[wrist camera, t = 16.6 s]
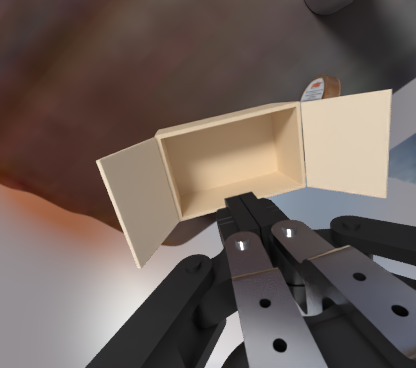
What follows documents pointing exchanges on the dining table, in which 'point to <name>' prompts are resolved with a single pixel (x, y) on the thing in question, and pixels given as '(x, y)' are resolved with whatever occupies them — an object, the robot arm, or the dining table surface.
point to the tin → (320, 92)
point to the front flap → (140, 197)
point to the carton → (233, 157)
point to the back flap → (348, 142)
